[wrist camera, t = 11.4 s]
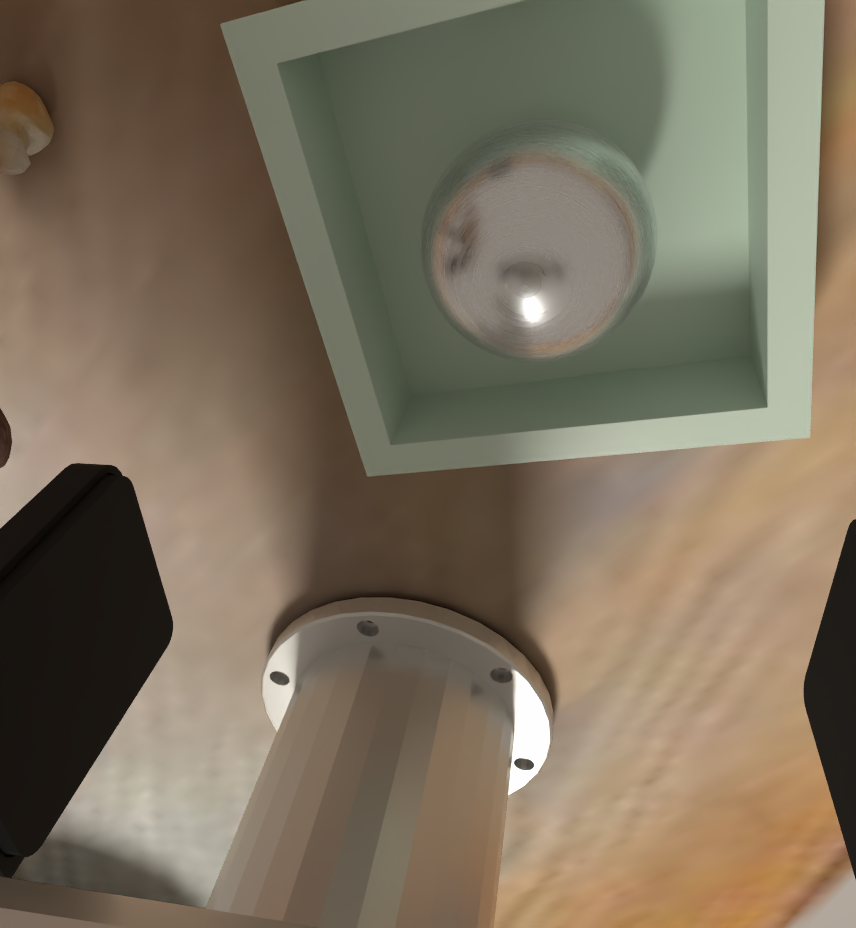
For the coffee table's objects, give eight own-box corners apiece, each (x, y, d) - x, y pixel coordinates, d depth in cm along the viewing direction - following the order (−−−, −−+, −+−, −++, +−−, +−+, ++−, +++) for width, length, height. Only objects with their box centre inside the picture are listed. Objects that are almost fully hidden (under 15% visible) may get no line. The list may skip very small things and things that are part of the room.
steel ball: (659, 295, 21) (672, 389, 17) (465, 322, 23) (428, 415, 18) (643, 77, 18) (652, 119, 14) (422, 124, 20) (367, 177, 16)
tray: (784, 373, 23) (809, 437, 20) (393, 416, 26) (367, 476, 23) (790, -133, 16) (830, -146, 14) (275, 9, 20) (219, 24, 17)
